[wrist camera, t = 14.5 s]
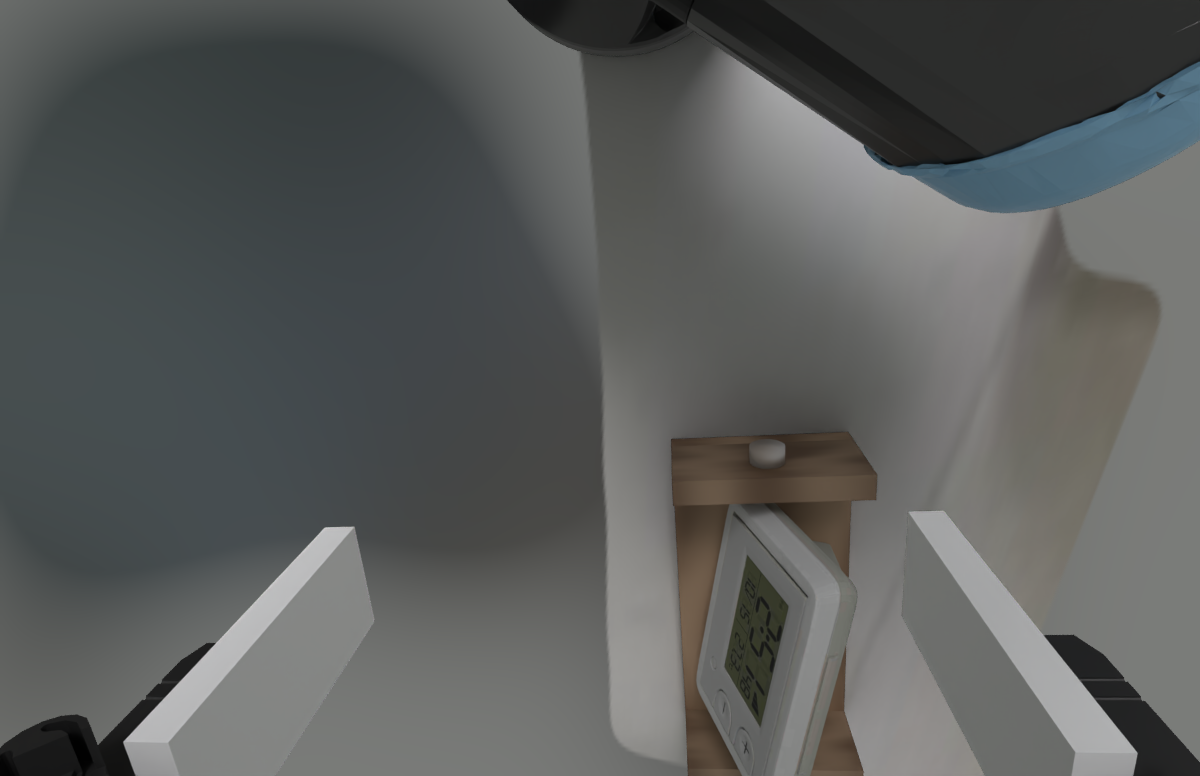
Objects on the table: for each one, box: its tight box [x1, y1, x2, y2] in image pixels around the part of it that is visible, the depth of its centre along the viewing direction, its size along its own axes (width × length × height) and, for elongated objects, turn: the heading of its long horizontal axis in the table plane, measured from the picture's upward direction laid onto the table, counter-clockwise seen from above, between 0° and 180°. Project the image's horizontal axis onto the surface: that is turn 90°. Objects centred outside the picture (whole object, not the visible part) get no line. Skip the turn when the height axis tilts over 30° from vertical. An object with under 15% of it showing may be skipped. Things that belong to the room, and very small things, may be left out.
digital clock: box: [696, 503, 857, 776], centre depth 40 cm, size 16×9×11 cm, turn 162°
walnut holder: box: [671, 432, 877, 776], centre depth 43 cm, size 11×24×6 cm, turn 5°
